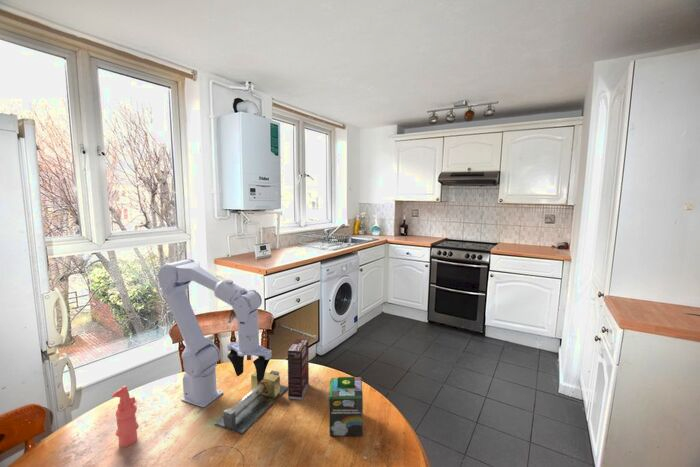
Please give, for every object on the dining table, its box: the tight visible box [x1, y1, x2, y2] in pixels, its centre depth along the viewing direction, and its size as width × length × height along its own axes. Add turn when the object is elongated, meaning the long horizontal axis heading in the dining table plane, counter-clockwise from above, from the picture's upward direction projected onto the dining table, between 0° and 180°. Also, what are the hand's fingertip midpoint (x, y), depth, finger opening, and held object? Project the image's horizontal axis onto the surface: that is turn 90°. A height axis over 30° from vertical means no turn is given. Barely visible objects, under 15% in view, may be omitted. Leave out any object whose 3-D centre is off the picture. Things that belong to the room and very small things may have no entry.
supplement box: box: [287, 338, 310, 401], centre depth 102 cm, size 9×5×16 cm, turn 173°
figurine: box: [111, 385, 140, 448], centre depth 81 cm, size 5×5×15 cm
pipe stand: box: [214, 370, 288, 435], centre depth 96 cm, size 22×10×5 cm, turn 158°
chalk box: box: [328, 376, 364, 437], centre depth 87 cm, size 9×9×15 cm
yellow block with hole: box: [250, 371, 281, 398], centre depth 101 cm, size 3×9×6 cm, turn 68°
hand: (250, 377), depth 93 cm, fingers open, 7 cm apart
